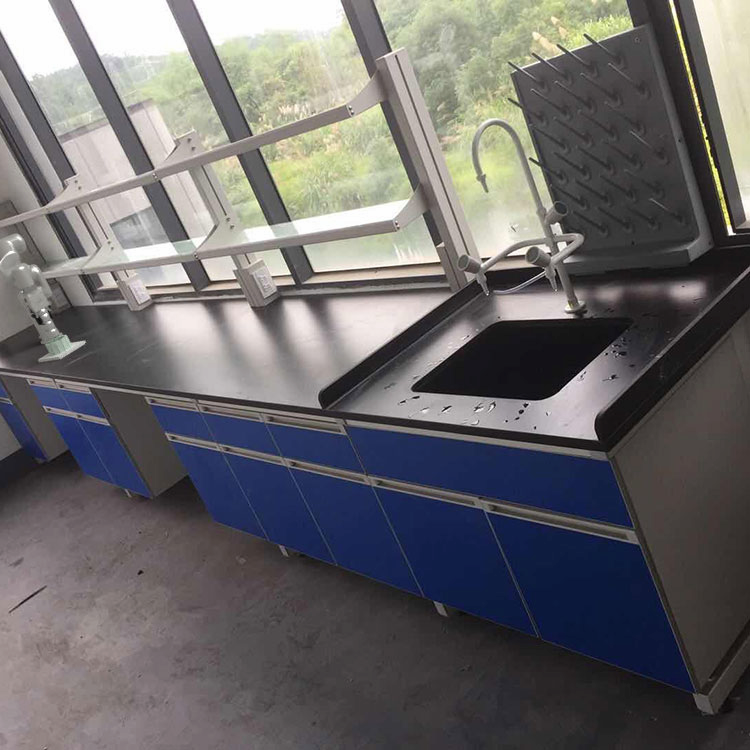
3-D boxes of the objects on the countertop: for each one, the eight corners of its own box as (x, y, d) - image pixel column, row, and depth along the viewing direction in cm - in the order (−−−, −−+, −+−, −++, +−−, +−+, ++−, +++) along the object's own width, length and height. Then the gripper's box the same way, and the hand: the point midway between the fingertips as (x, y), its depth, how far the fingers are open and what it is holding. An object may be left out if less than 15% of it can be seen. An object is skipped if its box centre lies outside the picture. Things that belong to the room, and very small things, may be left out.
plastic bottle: (48, 342, 409) (29, 306, 402) (49, 338, 415) (31, 304, 408) (60, 337, 410) (41, 301, 403) (61, 334, 416) (43, 299, 409)
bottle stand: (39, 362, 414) (32, 349, 411) (65, 346, 427) (58, 334, 425) (60, 359, 404) (52, 346, 401) (86, 343, 417) (79, 330, 415)
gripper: (19, 295, 394) (37, 328, 401) (46, 281, 407) (63, 313, 413) (11, 297, 398) (28, 330, 405) (38, 283, 411) (54, 315, 418)
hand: (46, 321), depth 409 cm, fingers closed on plastic bottle, 6 cm apart
